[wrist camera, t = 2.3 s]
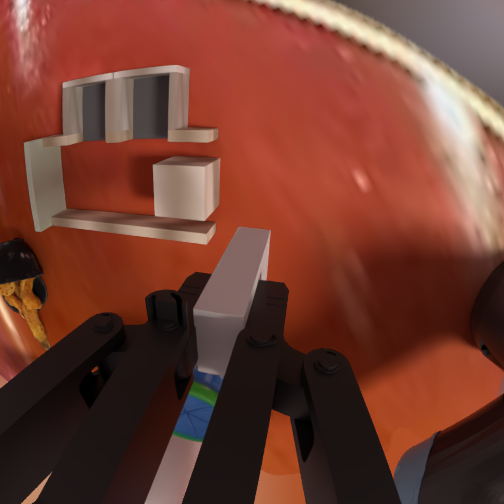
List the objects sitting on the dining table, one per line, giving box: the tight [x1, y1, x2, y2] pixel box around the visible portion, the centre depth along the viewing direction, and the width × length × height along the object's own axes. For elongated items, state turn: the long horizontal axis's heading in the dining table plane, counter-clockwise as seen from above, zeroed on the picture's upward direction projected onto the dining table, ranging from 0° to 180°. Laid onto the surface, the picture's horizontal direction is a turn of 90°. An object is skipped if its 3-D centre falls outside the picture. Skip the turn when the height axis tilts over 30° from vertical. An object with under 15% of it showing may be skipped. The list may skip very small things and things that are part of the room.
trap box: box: [24, 65, 218, 244], centre depth 26 cm, size 20×16×5 cm
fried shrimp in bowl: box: [0, 238, 50, 350], centre depth 36 cm, size 9×11×18 cm
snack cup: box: [172, 363, 224, 442], centre depth 34 cm, size 16×10×10 cm
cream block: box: [153, 156, 220, 221], centre depth 27 cm, size 4×4×4 cm
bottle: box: [145, 435, 202, 504], centre depth 33 cm, size 8×8×30 cm
